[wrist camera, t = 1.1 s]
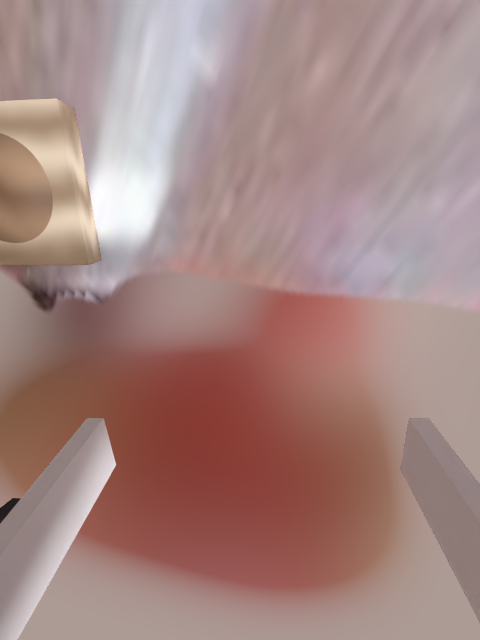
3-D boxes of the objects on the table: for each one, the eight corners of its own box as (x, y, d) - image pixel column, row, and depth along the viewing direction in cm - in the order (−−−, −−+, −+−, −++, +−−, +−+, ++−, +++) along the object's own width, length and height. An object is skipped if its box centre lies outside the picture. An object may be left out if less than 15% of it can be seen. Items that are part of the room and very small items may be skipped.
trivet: (-66, 114, 33) (-97, 105, 30) (74, 108, 32) (55, 98, 29) (-19, 261, 38) (-42, 265, 36) (101, 260, 37) (88, 264, 34)
